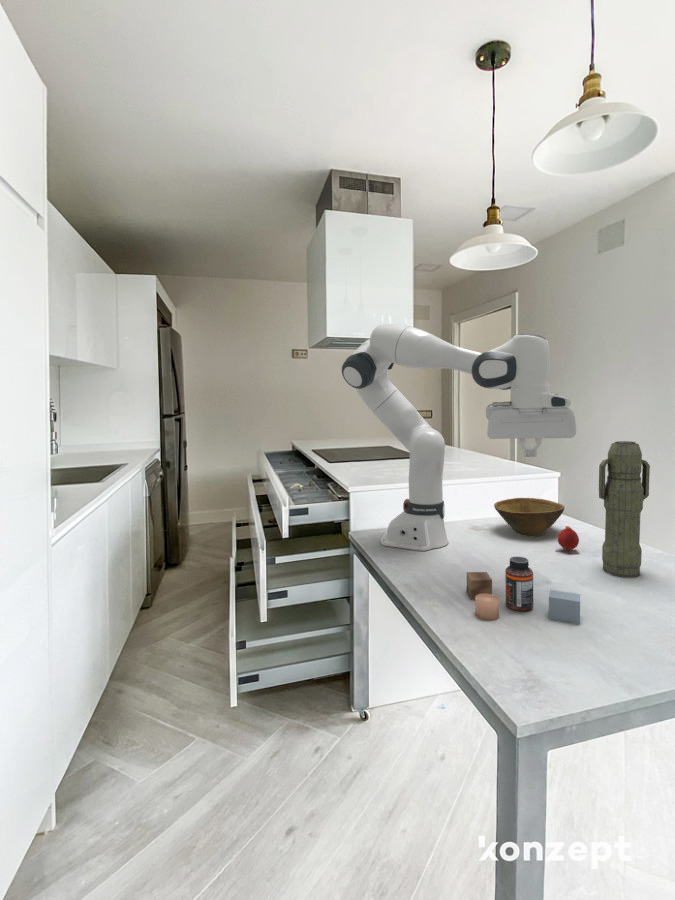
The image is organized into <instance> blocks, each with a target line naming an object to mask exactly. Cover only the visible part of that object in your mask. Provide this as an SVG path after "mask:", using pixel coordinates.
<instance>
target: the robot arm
mask: <svg viewBox="0 0 675 900" xmlns="http://www.w3.org/2000/svg"><path fill="white" fill-rule="evenodd" d="M549 344H550V343H549V342H548V340H547V339H546V337H545V336H543V335H539V334H534V333H532V334H531V333H519V334H516V335H514V336H513V337H512V338H510V339H509V340H508V341H507V342H505V343H503V344H501V345H500V346H498V347H494V348H493V349H490V350H488V351H484V352H479V351H474V350H471V349H466V348H463V347H459V346H456V345H454V344H451V343H450V342H448V341H445V340H443V339H442V338H440V337H438V336H436V335H434V334H433V333H430V332H428V331H425V330H424V329H421V328H420V329H419V328H418V327H413V326H410V325H404V324H398V323H397V324H396V323H380V324H378V325H377V326H375V328H374V329H373V330H372V331H371V334H370V337H369V339H367V340H366V341H364V342H363V343H362V344H360V345H359V346H358V347H357V348H356V350H354V351H353V352H352V354H351V355H349V356H347V358H346V359H345V360H344V361H343V364H342V366H341V374H342V377H343V380H344V381H345V382H346V383H347V385H349V386H350V387H352V388H354V389H356V392H357V394H358V395H359V396H360V398H361V399H362V401H363V402H364V404H365V405H366V406H367V407H368V409H369V410H370V411H371V412H372V413H373V414H374V415H375V416H376V417H377V419H379V421H380V422H381V424H383V425H384V427H386V428H387V429H388V430H389V432H390V433H392V435H393V436H394V437H395V439H397V440H398V441H399V443H401V444H402V445H403V447H404V448H405V449H406V450H408V452H409V465H408V466H409V469H408V498H405V500H403V504H402V508H403V511H402V512H401V513H400V514H398V515H397V516H396V517H394V518H393V519H392V520H391V521H390V522H389V523H388V526H387V531H386V532H385V533H384V534H383V535H382V536H381V538H380V544H381V545H382V546H386V547H392V548H398V549H399V548H400V549H407V550H413V551H414V550H415V551H421V552H427V551H429V550H432V549H438V548H443V547H444V546H446V545H448V544H449V539H448V537H447V532H446V527H445V516H446V515H445V514H446V513H445V500H444V497H443V477H444V476H443V475H444V465H445V453H446V452H445V448H446V442H445V439H444V437H443V435H442V433H441V432H440V431H438V430H436V429H434V428H432V426H431V425H430V424H429V423H428V422H427V421H426V419H424V418H423V416H422V415H421V414H420V413H419V411H418V410H417V409H416V408H415V406H414V405H413V404H412V403H411V402H410V401H409V400H408V399H407V398H406V397H405V395H404V394H403V393H402V392H401V391H400V390H399V389H398V388H397V387H396V386H395V384H393V383H392V381H390V379H389V378H388V374H387V373H388V371H389V370H392V369H393V367H394V364H395V365H398V366H402V367H406V368H411V369H419V370H420V369H422V370H423V369H425V370H427V369H428V370H432V369H433V370H434V369H448V370H455V371H458V372H462V373H465V374H470V375H471V376H472V379H473V381H474V382H475V384H477V385H478V386H480V387H481V388H484V389H489V390H503V391H507V390H510V397H511V398H510V401H500V402H499V401H494V402H492V403H489V404H488V405H486V408H485V417H486V419H487V420H488V424H487V437H488V438H489V439H493V440H495V439H497V440H501V439H502V440H507V439H509V440H510V439H511V440H513V439H516V440H517V439H518V444H519V445H520V446H521V448H522V451H523V457H524V458H525V457H526V458H527V457H528V458H531V457H532V458H533V457H535V458H536V457H537V452H538V451H537V450H539V447H540V446H541V445H542V441H543V440H542V439H573V438H574V437H575V436H576V434H577V423H576V421H577V420H576V416H575V413H574V411H573V410H572V409H571V408H569V407H570V406H571V404H572V400H571V399H570V397H569V398H568V397H567V396H561V395H559V394H557V393H555V394H553V393H551V385H550V381H549V375H550V372H551V351H550V345H549ZM526 439H534V443H535V445H534V447H533V448H527V447H526V446H525V443H526Z"/></svg>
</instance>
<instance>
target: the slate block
mask: <svg viewBox="0 0 675 900" xmlns="http://www.w3.org/2000/svg"><path fill="white" fill-rule="evenodd" d="M548 619H549V620H554V621H561V622H566V623H573V624H577V625H580V624H581V593H574V592H568V591H561V590H553V589H550V590H549V594H548Z"/></svg>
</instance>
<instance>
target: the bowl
mask: <svg viewBox="0 0 675 900" xmlns="http://www.w3.org/2000/svg"><path fill="white" fill-rule="evenodd" d="M493 507H494V509H495V510H496V512H497V513H498V515H500V517H501V518H502V519H503V521H505V523H507V525H508V526H510V529H512V530H513V532H515V534H517V535H520V536H523V537H540V536H543V535H544V534H545V533H546V532H547V531H548V530H550V528H551V527H552V526H553V525H554V524H555V523H556V522H557V520H558V519H559V518H560V517H561V516H562V515H563V513H564V511H565V505H563V504H561V503H558V502H555V501H552V500H549V499H543V498H534V497H513V498H507V499H503V500H499V501H496V502H495V503H494V505H493Z"/></svg>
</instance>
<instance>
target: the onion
mask: <svg viewBox="0 0 675 900" xmlns="http://www.w3.org/2000/svg"><path fill="white" fill-rule="evenodd" d="M557 543H558V544H559V546H560V547H561V548H563V550H565V551H566V552H571V551H572V550H574V549H576V548H577V547H578V545H579V544H580V538H579V535H578V534H577V532H576V531H575V530H573V529H572V528H571V527H570V526H569V525H565V527H564V528H563V529H562V530H561V531H560V532H559V533H558V534H557Z"/></svg>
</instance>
